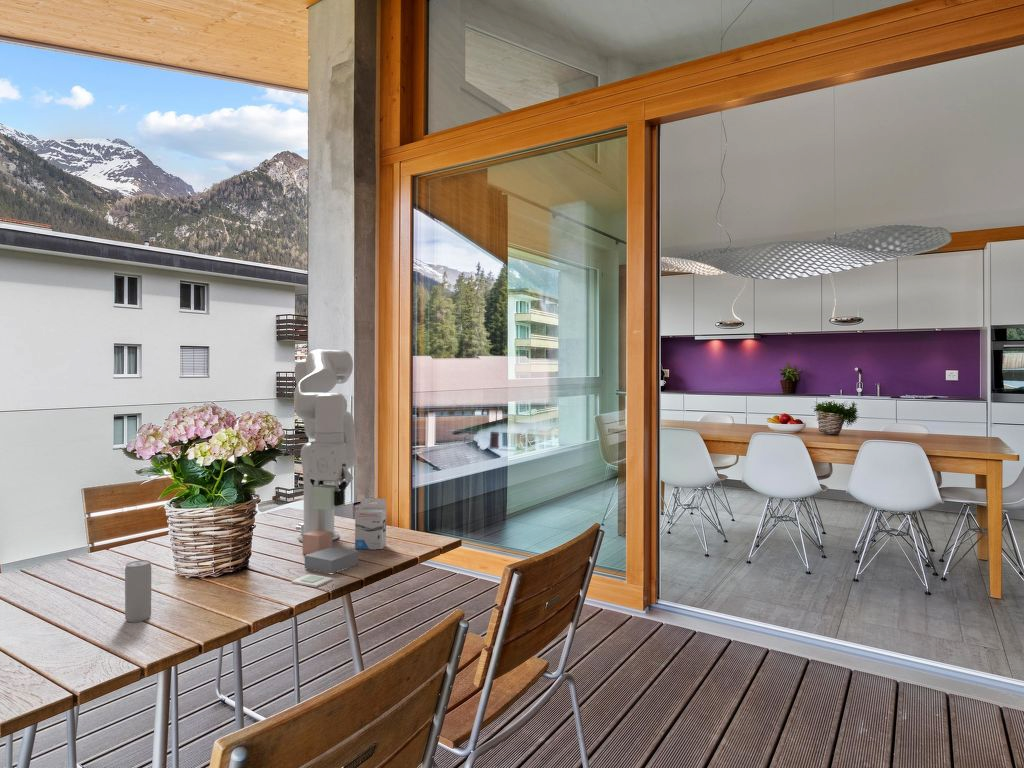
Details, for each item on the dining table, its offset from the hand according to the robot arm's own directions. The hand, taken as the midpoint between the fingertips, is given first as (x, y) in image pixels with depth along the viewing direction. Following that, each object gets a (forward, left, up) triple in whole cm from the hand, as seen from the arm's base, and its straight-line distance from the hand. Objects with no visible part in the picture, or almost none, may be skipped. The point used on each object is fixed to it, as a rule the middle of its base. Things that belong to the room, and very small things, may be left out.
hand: (329, 503), depth 166 cm
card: (+4, -12, -17) cm, 21 cm away
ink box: (-2, +20, -18) cm, 27 cm away
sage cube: (0, 0, -1) cm, 1 cm away
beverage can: (-13, -46, -18) cm, 50 cm away
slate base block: (0, 0, -18) cm, 18 cm away
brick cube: (-13, +9, -18) cm, 24 cm away
